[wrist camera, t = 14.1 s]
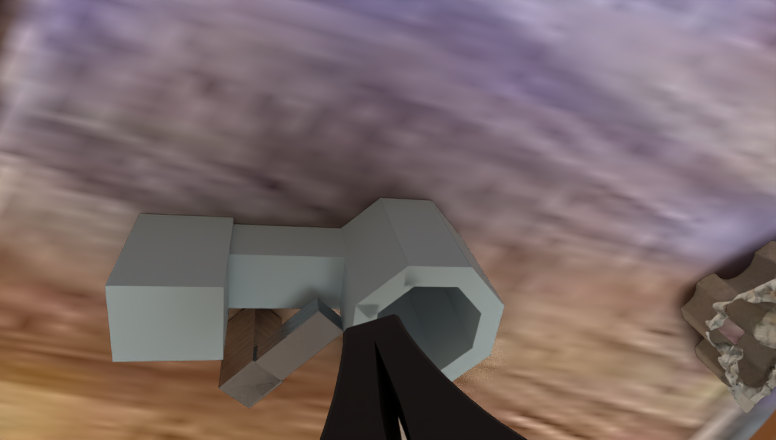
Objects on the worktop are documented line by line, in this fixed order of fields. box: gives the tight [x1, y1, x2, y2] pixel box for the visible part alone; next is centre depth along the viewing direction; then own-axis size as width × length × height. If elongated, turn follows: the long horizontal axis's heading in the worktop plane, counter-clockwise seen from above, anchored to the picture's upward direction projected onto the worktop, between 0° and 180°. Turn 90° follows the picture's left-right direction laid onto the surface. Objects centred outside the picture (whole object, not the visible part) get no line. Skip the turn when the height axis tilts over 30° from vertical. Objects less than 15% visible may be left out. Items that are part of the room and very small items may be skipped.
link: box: [105, 198, 505, 382], centre depth 21 cm, size 13×5×5 cm, turn 82°
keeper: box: [218, 297, 344, 408], centre depth 22 cm, size 2×5×4 cm, turn 128°
